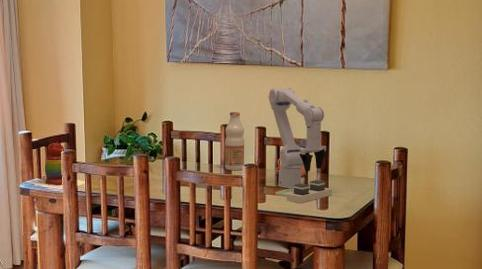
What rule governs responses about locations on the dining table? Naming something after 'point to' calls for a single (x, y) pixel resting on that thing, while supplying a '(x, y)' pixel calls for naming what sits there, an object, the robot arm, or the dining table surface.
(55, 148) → the stacking bear
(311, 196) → the strip
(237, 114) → the fruit juice
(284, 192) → the tray
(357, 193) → the dining table surface
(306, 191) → the plug
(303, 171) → the sugar bowl
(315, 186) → the twin plug
